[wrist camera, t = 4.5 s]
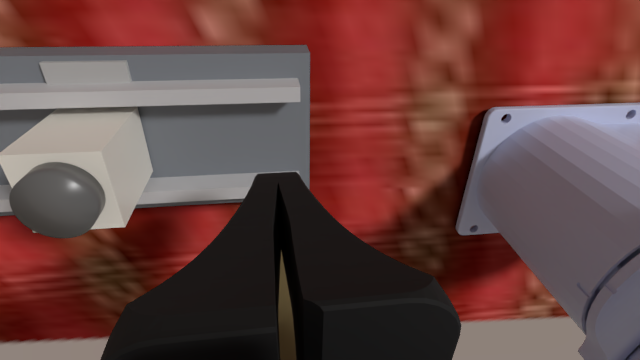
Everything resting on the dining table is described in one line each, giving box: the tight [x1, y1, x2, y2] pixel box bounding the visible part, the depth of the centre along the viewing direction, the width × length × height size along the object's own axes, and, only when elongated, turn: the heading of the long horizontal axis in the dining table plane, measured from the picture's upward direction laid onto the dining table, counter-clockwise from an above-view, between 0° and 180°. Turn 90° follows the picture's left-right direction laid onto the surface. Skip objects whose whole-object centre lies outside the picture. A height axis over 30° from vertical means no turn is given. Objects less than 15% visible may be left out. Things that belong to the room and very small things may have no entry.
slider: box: [0, 107, 153, 238], centre depth 14 cm, size 3×3×5 cm
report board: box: [0, 45, 310, 216], centre depth 16 cm, size 18×7×4 cm, turn 89°
